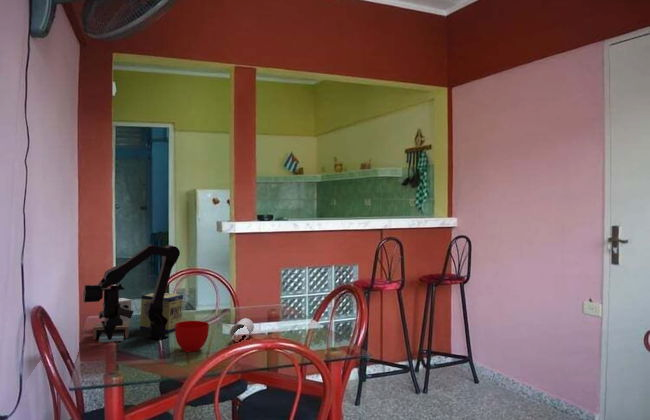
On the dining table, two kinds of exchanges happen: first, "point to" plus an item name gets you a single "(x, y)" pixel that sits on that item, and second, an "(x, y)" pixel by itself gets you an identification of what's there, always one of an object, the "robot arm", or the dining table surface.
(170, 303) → the protein box
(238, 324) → the white plastic bottle
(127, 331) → the low shelf
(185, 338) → the ceramic cup
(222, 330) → the dining table surface
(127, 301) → the supplement box
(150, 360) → the dining table surface
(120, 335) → the grey-blue square plate
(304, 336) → the dining table surface
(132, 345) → the dining table surface
